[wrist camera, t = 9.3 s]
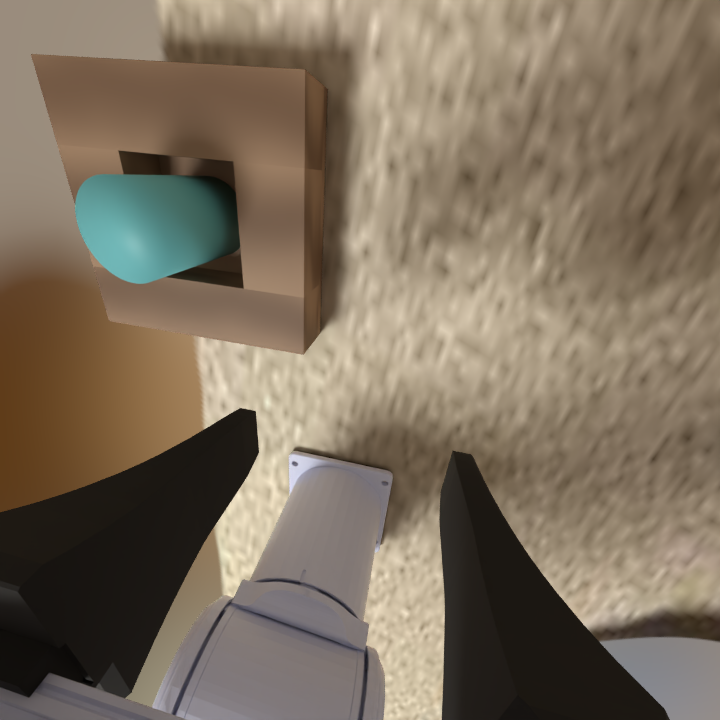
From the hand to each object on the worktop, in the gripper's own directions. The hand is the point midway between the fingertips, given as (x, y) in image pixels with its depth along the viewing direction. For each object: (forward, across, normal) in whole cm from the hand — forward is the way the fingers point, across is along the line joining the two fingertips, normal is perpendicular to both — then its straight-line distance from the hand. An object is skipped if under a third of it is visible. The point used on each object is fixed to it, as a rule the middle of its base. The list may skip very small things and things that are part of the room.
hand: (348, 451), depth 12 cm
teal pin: (+9, +10, -6) cm, 15 cm away
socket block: (+9, +10, -6) cm, 15 cm away
